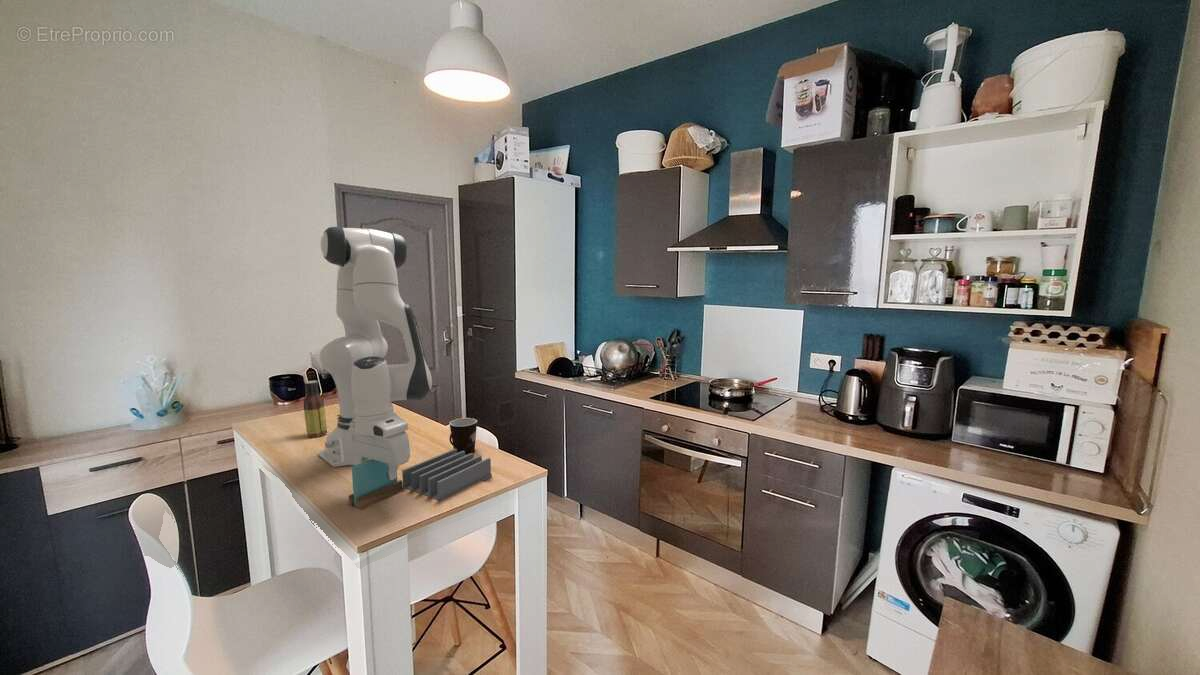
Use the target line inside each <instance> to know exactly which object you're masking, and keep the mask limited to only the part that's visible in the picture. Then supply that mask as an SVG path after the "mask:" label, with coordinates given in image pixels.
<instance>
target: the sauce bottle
mask: <svg viewBox="0 0 1200 675" xmlns="http://www.w3.org/2000/svg"><path fill="white" fill-rule="evenodd" d="M318 386H319V381H318V380H308V381H305V382H304V387H305V388H304V389H305V397H304V400H303V413H304V420H305V427H306V433H307V437H309V436H310V437H309V438H313V437H314V438H318V437H317V436H320V437H323V436H325V435H327V434H328V427H327V417H326V409H325V408H326V407H325V404H324V398H323V397H322V395H321V394H320V392H319V387H318ZM326 433H327V434H326ZM322 435H323V436H322Z"/></svg>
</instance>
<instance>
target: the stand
mask: <svg viewBox="0 0 1200 675" xmlns="http://www.w3.org/2000/svg"><path fill="white" fill-rule="evenodd" d="M405 491H406V490H405V489H404V487H403V480H401V479H399V480H397V481H396V482H394V483H392V484H389V485H387V486H385V487H382V488H380V489H378V490H375V491H373V492H371V493H368V494H366V495H364V496H361V497H359V498H357V499H356V506H354V494H353V493H352V494H349V495H348V503H347V505H348V506H350V507H352V508H355V509H357V510H359V511H364V510H365V509H367V508H370V507H373V506H374V505H376V504H378V503H381V502H383V501H386V500H387V499H389V498H392V497H394V496H397V495H399V494H401V493H403V492H405Z"/></svg>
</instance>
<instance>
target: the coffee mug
mask: <svg viewBox="0 0 1200 675" xmlns="http://www.w3.org/2000/svg"><path fill="white" fill-rule="evenodd" d="M477 426H478V420H477V419H475V418H471V417H462V418H456V419H453V420H451V421H450V422H449V428H450V434H449V443H450V445H452V447H453V449H457V453H459V452H461V451H465V456H466V455H468V454H470V453H473V454H474V452H475V450H476V449H475V448H476V441H477V440H476V439H477V438H476V437H477V428H478V427H477Z"/></svg>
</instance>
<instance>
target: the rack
mask: <svg viewBox="0 0 1200 675" xmlns="http://www.w3.org/2000/svg"><path fill="white" fill-rule="evenodd" d="M482 457H483V456H482V455H476V456H474V452H473V453H470V454H468V455H465V451H461V452H459V453H457V449H454V448H453V449H450V450H448V451H445V452H443V453H441V454H438V455H436V456H434V457H431V458H428V459H427V460H423V461H421V462H419V463H417V464H416V463H415V464H414V465H411V466H409V467H407V468H404V469H402V470H401V473H402V484H403V489H404V488H405V489H407V490H410V491H412V492H416V493H418V494H420V495H423V496H427V497H429V498H431V499H435V500H437V501H440V502H441V501H443V500H445V499H447V498H449V497H451V496H453V495H455V494H457V493H459V492H461V491H462V490H465V489H466V488H468V487H470V486H472V485H474V484H476V483H479V482H480V481H481V482H485V481H487V480H489V479H490V478H493V474H492V468H491V466H492V465H491V461H492V459H491V457H487V458H485V459H483V458H482Z"/></svg>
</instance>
